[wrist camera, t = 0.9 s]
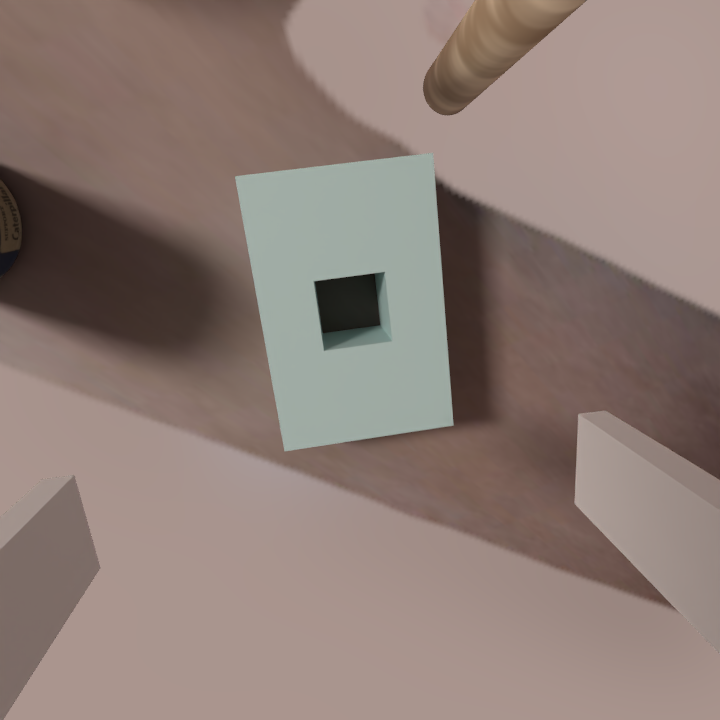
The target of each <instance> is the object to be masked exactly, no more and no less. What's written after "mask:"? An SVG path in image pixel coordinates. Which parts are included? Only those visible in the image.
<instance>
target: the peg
mask: <svg viewBox="0 0 720 720" xmlns="http://www.w3.org/2000/svg"><path fill="white" fill-rule="evenodd" d="M585 1H586V0H475V1H474V3H473V4H472V6H471V7H470V9H469V10H468V12H467V13H466V15H465V16H464V18H463V19H462V21H461V22H460V24H459V25H458V27H457V28H456V30H455V31H454V33H453V34H452V36H451V37H450V39H449V40H448V42H447V43H446V45H445V46H444V48H443V49H442V51H441V52H440V54H439V55H438V57H437V58H436V60H435V61H434V63H433V64H432V66H431V67H430V69H429V70H428V72H427V74H426V76H425V79H424V85H423V91H424V96H425V99H426V102H427V103H428V105H429V106H430V107H431V108H432V109H433V110H434V111H435V112H437V113H439V114H442V115H453V114H456V113H458V112H460V111H461V110H463V109H464V108H465V107H466V106H467V105H468V104H469V103H471V102H472V101H473V100H474V99H475V98H476V97H477V96H479V95H480V94H481V93H482V92H483V91H484V90H485V89H487V88H488V87H489V86H490V85H491V84H492V83H493V82H495V81H496V80H497V79H498V78H499V77H500V76H501V75H502V74H504V73H505V72H506V71H507V70H508V69H509V68H510V67H511V66H513V65H514V64H515V63H516V62H517V61H518V60H520V59H521V58H522V57H523V56H524V55H525V54H526V53H527V52H529V51H530V50H531V49H532V48H533V47H534V46H535V45H537V44H538V43H539V42H540V41H541V40H542V39H543V38H544V37H546V36H547V35H548V34H549V33H550V32H551V31H552V30H554V29H555V28H556V27H557V26H558V25H559V24H560V23H562V22H563V21H564V20H565V19H566V18H567V17H568V16H569V15H571V13H573V12H574V11H575V10H576V9H577V8H579V7H580V6H581V5H582V4H583V3H584V2H585Z"/></svg>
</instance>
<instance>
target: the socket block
mask: <svg viewBox="0 0 720 720" xmlns="http://www.w3.org/2000/svg"><path fill="white" fill-rule="evenodd" d="M235 179H236V185H237V190H238V196H239V201H240V207H241V212H242V218H243V223H244V229H245V234H246V240H247V246H248V251H249V257H250V262H251V268H252V273H253V279H254V284H255V290H256V295H257V301H258V306H259V312H260V317H261V323H262V328H263V334H264V340H265V345H266V351H267V356H268V362H269V367H270V373H271V378H272V384H273V389H274V395H275V400H276V406H277V411H278V417H279V422H280V428H281V434H282V439H283V445H284V450H285V451H290V450H296V449H303V448H309V447H316V446H323V445H329V444H336V443H342V442H349V441H355V440H362V439H368V438H375V437H381V436H388V435H395V434H401V433H408V432H414V431H421V430H427V429H434V428H440V427H447V426H454V425H453V412H452V399H451V385H450V372H449V359H448V345H447V332H446V319H445V306H444V292H443V279H442V266H441V252H440V239H439V226H438V212H437V199H436V186H435V172H434V160H433V153H428V154H420V155H411V156H403V157H394V158H386V159H378V160H369V161H361V162H352V163H344V164H335V165H327V166H318V167H310V168H301V169H293V170H284V171H276V172H268V173H259V174H251V175H242V176H235ZM372 273H375V282H376V291H377V300H378V309H379V318H380V325H378V326H371V327H364V328H356V329H349V330H342V331H335V332H328V333H323V332H322V325H321V319H320V312H319V305H318V298H317V291H316V284H315V281H319V280H327V279H335V278H342V277H350V276H357V275H365V274H372Z"/></svg>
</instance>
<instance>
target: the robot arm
mask: <svg viewBox="0 0 720 720" xmlns="http://www.w3.org/2000/svg"><path fill="white" fill-rule="evenodd" d="M575 505H576V506H577V507H578V508H579V509H580V510H581V511H582V512H583V513H584V514H585V515H586V516H587V517H588V518H589V519H590V520H591V521H592V522H593V523H594V524H595V525H596V526H597V527H598V529H599V530H600V531H601V532H602V533H603V534H604V535H605V536H606V537H607V538H608V539H609V540H610V541H611V542H612V543H613V544H614V545H615V546H616V547H617V548H618V549H619V550H620V551H621V552H622V553H623V554H624V555H625V557H626V558H627V559H628V560H629V561H630V562H631V563H632V564H633V565H634V566H635V567H636V568H637V569H638V570H639V571H640V572H641V573H642V574H643V575H644V576H645V577H646V578H647V579H648V580H649V581H650V582H651V583H652V585H653V586H654V587H655V588H656V589H657V590H658V591H659V592H660V593H661V594H662V595H663V596H664V597H665V598H666V599H667V600H668V601H669V602H670V603H671V604H672V605H673V606H674V607H675V608H676V609H677V610H678V611H679V612H680V614H681V615H682V616H683V617H684V618H685V619H686V620H687V621H688V622H689V623H690V624H691V625H692V626H693V627H694V628H695V629H696V630H697V631H698V632H699V633H700V634H701V635H702V636H703V637H704V638H705V639H706V640H707V641H708V643H710V645H711V646H712V647H713V648H714V649H715V650H716V651H717V652H718V653H719V654H720V480H719V479H717V478H716V477H714V476H712V475H711V474H709V473H707V472H706V471H704V470H703V469H701V468H699V467H698V466H696V465H694V464H693V463H691V462H689V461H688V460H686V459H684V458H683V457H681V456H679V455H678V454H676V453H675V452H673V451H671V450H670V449H668V448H666V447H665V446H663V445H661V444H660V443H658V442H656V441H655V440H653V439H651V438H650V437H648V436H647V435H645V434H643V433H642V432H640V431H638V430H637V429H635V428H633V427H632V426H630V425H628V424H627V423H625V422H623V421H622V420H620V419H619V418H617V417H615V416H614V415H612V414H610V413H609V412H607V411H599V412H591V413H582V414H578V436H577V459H576V482H575ZM99 569H100V565H99V561H98V558H97V554H96V551H95V547H94V544H93V540H92V536H91V533H90V529H89V526H88V522H87V519H86V516H85V512H84V508H83V504H82V501H81V497H80V494H79V491H78V487H77V483H76V480H75V476H74V475H72V476H63V477H55V478H47V479H42V480H41V481H40V482H39V483H37V484H36V485H35V486H34V487H33V488H32V489H31V490H30V491H29V492H28V493H26V494H25V495H24V496H23V497H22V498H21V499H20V500H19V501H18V502H16V503H15V504H14V505H13V506H12V507H11V508H10V509H9V510H8V511H6V512H5V513H4V514H3V515H2V516H1V517H0V720H3V719H4V718H5V716H6V714H7V713H8V711H9V710H10V708H11V707H12V705H13V704H14V702H15V700H16V699H17V697H18V696H19V694H20V693H21V691H22V690H23V688H24V686H25V685H26V683H27V682H28V680H29V679H30V677H31V675H32V674H33V672H34V671H35V669H36V668H37V666H38V665H39V663H40V661H41V660H42V658H43V657H44V655H45V654H46V652H47V650H48V649H49V647H50V646H51V644H52V643H53V641H54V639H55V638H56V636H57V635H58V633H59V632H60V630H61V629H62V627H63V625H64V624H65V622H66V621H67V619H68V618H69V616H70V614H71V613H72V611H73V610H74V608H75V607H76V605H77V604H78V602H79V600H80V599H81V597H82V596H83V594H84V593H85V591H86V589H87V588H88V586H89V585H90V583H91V582H92V580H93V579H94V577H95V575H96V574H97V572H98V571H99Z"/></svg>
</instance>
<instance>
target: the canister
mask: <svg viewBox="0 0 720 720" xmlns="http://www.w3.org/2000/svg"><path fill="white" fill-rule="evenodd" d="M21 240H22V224H21V218H20V214H19V210H18V207H17V204H16V201H15V199H14V198H13V196H12V194H11V193H10V191H9V190H8V188H7V187H6V186H5V184H4V183H3V182H2V181H1V180H0V278H1V277H2V276H3V275H4V274H5V273H6V272H7V271H8V270H9V269H10V267H11V266H12V265H13V263H14V261H15V260H16V257H17V255H18V253H19V250H20V247H21Z"/></svg>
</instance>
